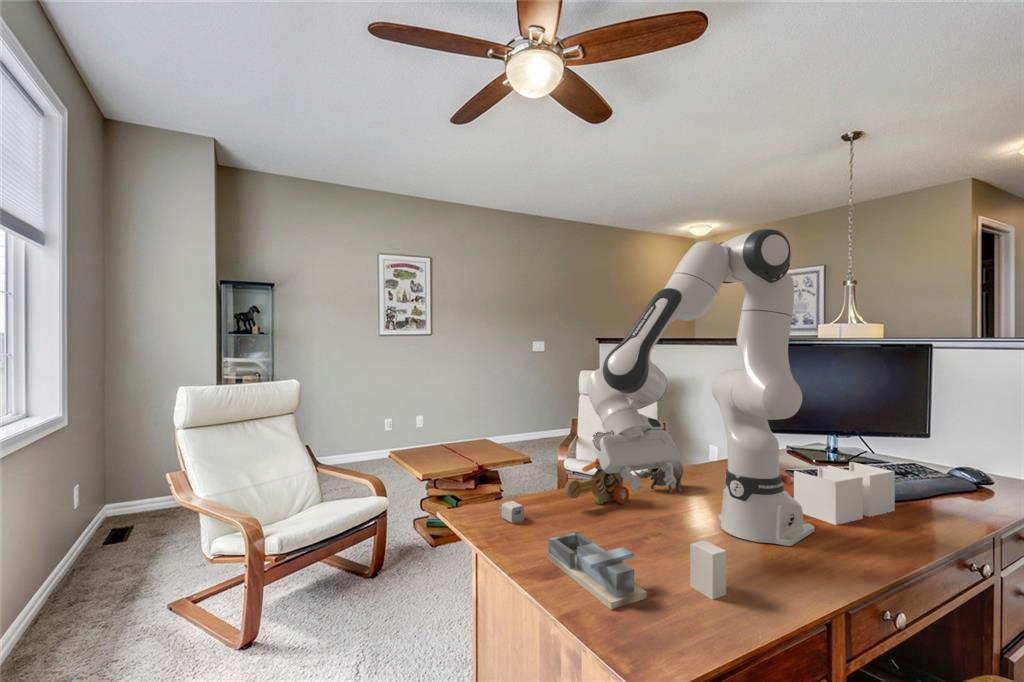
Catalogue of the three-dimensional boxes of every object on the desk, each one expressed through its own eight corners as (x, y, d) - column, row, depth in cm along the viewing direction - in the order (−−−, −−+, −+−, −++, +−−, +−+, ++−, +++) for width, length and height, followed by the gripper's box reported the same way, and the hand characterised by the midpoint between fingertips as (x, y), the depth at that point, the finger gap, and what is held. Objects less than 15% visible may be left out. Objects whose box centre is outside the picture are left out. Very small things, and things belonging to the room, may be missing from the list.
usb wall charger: (511, 524, 116) (511, 508, 116) (496, 515, 122) (496, 500, 122) (524, 520, 119) (524, 505, 119) (508, 512, 124) (508, 497, 124)
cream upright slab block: (703, 582, 88) (703, 540, 88) (726, 594, 84) (726, 550, 84) (690, 586, 87) (690, 543, 87) (712, 599, 82) (712, 554, 82)
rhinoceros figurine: (702, 481, 144) (676, 444, 141) (674, 513, 139) (648, 474, 137) (684, 477, 151) (660, 441, 149) (657, 507, 146) (632, 470, 144)
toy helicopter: (632, 502, 133) (632, 454, 133) (577, 516, 121) (577, 464, 121) (611, 494, 139) (611, 448, 140) (557, 507, 128) (557, 458, 128)
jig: (582, 550, 102) (582, 522, 102) (651, 596, 83) (651, 563, 83) (543, 559, 97) (543, 530, 97) (606, 611, 79) (606, 575, 79)
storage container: (835, 525, 116) (835, 482, 116) (793, 511, 126) (793, 470, 126) (894, 511, 126) (894, 471, 126) (851, 499, 136) (851, 461, 136)
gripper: (595, 424, 98) (624, 484, 90) (666, 420, 108) (698, 474, 99) (582, 440, 102) (608, 499, 94) (651, 435, 112) (681, 488, 103)
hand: (655, 486), depth 97 cm, fingers open, 8 cm apart
